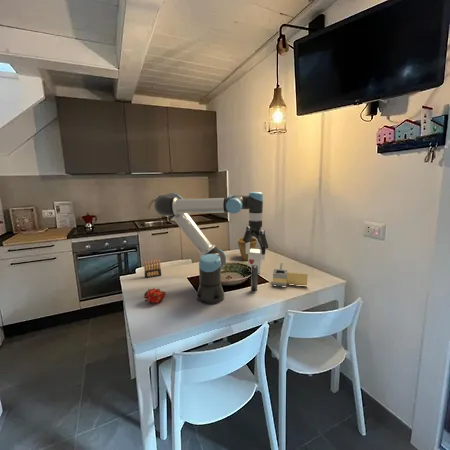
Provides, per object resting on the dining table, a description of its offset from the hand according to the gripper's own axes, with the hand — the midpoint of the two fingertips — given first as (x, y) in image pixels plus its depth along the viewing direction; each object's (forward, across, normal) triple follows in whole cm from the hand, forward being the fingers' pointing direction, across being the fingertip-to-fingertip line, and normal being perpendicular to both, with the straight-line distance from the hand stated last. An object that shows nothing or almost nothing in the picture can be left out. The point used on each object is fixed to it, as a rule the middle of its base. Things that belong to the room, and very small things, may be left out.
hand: (254, 256), depth 153 cm
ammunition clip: (+21, +51, +45) cm, 71 cm away
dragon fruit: (+21, +16, +54) cm, 60 cm away
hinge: (+21, -2, -27) cm, 34 cm away
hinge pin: (+21, 0, 0) cm, 21 cm away
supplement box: (+21, +24, -19) cm, 37 cm away
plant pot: (+21, +48, -30) cm, 60 cm away
